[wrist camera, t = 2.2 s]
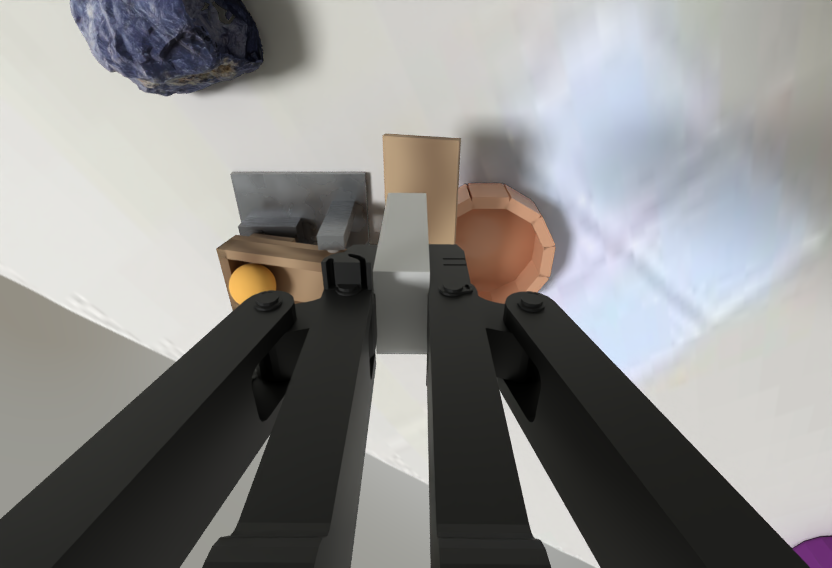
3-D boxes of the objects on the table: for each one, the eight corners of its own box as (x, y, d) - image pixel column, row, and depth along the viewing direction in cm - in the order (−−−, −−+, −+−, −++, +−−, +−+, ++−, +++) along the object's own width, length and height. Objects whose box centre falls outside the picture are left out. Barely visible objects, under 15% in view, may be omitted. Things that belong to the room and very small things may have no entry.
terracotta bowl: (417, 183, 39) (416, 197, 36) (553, 183, 39) (564, 197, 36) (416, 296, 45) (416, 317, 42) (534, 296, 45) (542, 317, 42)
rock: (294, 61, 31) (161, 67, 24) (214, 101, 37) (88, 116, 30) (233, -121, 28) (56, -180, 20) (156, -44, 34) (-3, -69, 26)
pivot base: (262, 305, 46) (236, 354, 39) (232, 171, 38) (194, 205, 32) (373, 305, 45) (366, 354, 39) (365, 171, 38) (354, 205, 32)
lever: (260, 288, 41) (233, 313, 38) (223, 117, 33) (184, 130, 30) (454, 318, 37) (444, 349, 34) (465, 132, 29) (453, 148, 26)
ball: (250, 251, 37) (214, 270, 34) (281, 262, 35) (246, 282, 32) (258, 288, 38) (224, 308, 36) (288, 299, 37) (255, 321, 34)
